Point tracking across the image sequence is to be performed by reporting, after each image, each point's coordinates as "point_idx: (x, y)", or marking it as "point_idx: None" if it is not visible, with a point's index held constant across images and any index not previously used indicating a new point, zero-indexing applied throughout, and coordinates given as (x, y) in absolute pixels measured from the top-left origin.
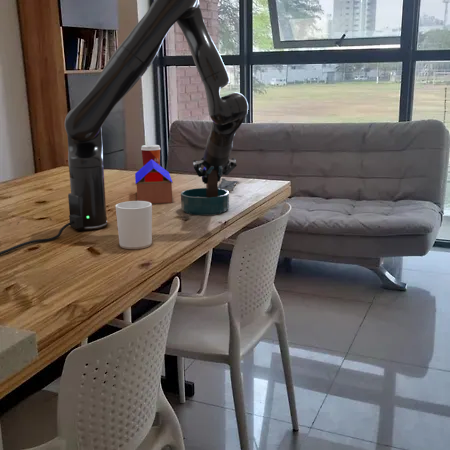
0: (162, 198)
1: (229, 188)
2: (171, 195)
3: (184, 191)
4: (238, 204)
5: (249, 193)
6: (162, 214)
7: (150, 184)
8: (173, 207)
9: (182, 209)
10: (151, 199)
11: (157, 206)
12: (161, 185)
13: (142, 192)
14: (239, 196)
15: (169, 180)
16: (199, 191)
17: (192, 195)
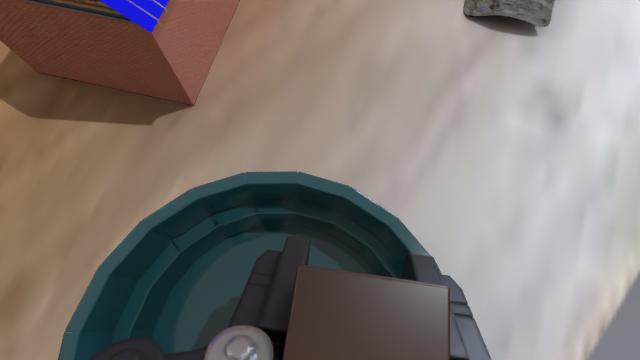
0: (138, 81)
1: (534, 2)
2: (177, 82)
3: (146, 235)
4: (512, 289)
5: (617, 77)
6: (6, 346)
7: (21, 6)
8: (149, 205)
9: None
10: (86, 72)
11: (90, 151)
12: (93, 26)
13: (14, 34)
14: (554, 115)
15: (132, 5)
16: (291, 191)
17: (241, 202)
